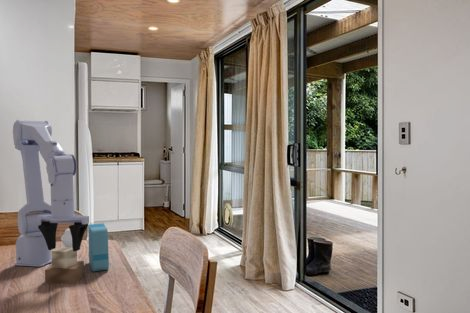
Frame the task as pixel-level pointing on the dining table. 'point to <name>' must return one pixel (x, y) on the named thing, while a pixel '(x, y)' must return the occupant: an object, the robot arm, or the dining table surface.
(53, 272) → the walnut base block
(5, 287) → the dining table surface
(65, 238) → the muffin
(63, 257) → the birch cube
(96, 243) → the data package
